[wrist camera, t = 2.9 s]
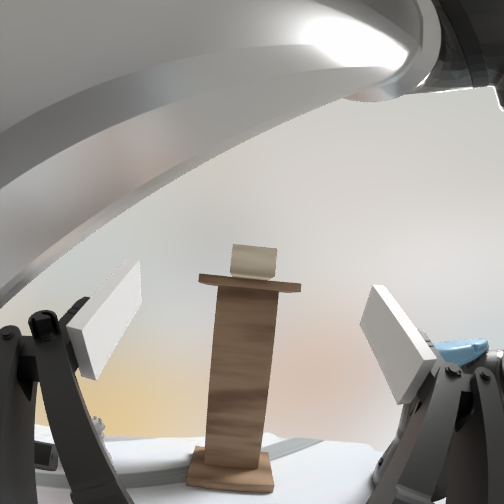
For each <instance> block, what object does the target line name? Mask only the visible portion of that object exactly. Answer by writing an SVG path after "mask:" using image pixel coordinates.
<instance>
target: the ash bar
mask: <svg viewBox="0 0 504 504" xmlns="http://www.w3.org/2000/svg"><path fill="white" fill-rule="evenodd" d="M276 256H277V249H276V248H266V247H256V246H246V245H236V244H233V249H232V258H231V267H230V273H231V275H232V277H236V278H246V279H256V280H269V279H271V278H273V277H274V276H275V268H276Z"/></svg>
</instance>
